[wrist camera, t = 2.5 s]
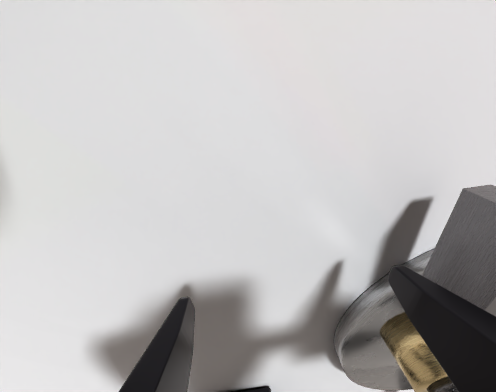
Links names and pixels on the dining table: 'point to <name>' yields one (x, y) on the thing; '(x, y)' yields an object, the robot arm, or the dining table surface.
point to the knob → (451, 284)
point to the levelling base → (373, 335)
